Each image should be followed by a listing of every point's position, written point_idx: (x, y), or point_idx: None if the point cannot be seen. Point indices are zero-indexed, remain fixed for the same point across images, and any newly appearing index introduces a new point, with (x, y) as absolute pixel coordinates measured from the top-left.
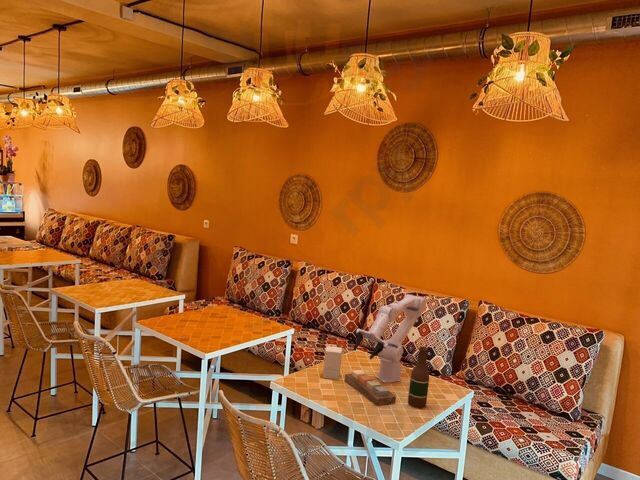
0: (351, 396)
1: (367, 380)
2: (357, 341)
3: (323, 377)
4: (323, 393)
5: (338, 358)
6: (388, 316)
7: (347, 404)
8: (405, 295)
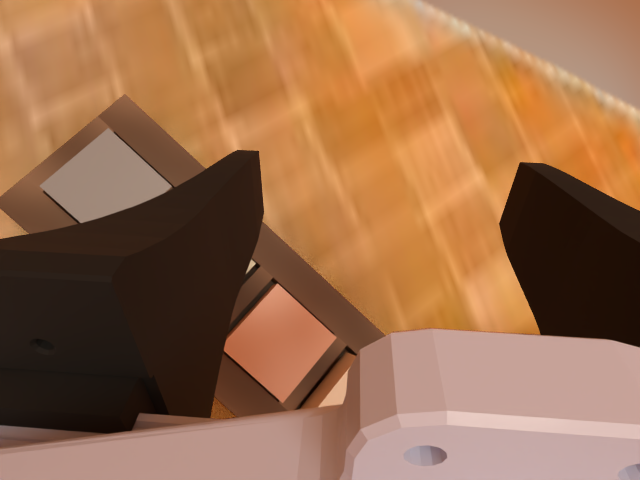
0: (309, 171)
1: (258, 304)
2: (616, 209)
3: (533, 334)
4: (448, 131)
5: None
6: None
7: (296, 60)
8: None
